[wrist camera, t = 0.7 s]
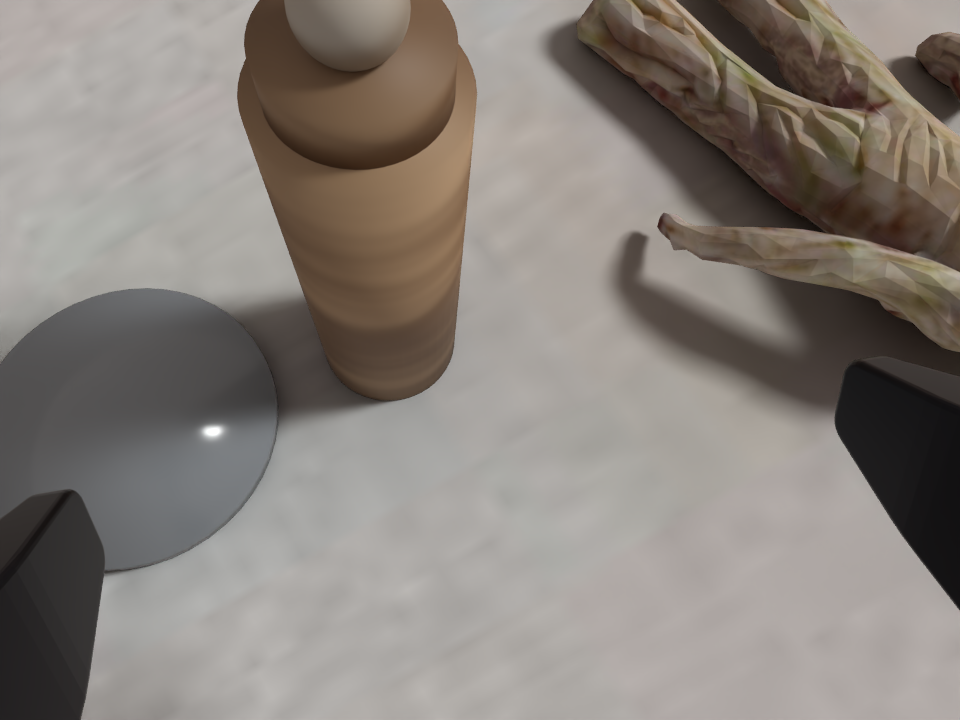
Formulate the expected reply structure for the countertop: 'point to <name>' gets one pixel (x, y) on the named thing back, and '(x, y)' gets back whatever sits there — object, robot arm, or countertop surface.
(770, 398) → the countertop surface
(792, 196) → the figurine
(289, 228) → the pepper mill
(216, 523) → the coaster
